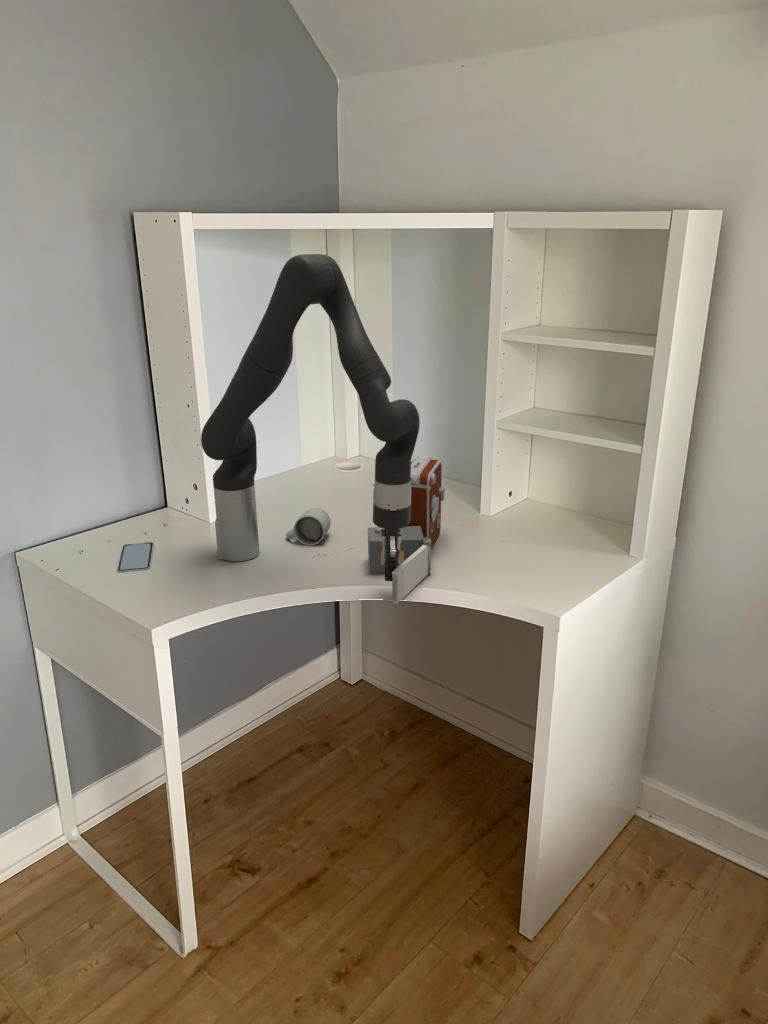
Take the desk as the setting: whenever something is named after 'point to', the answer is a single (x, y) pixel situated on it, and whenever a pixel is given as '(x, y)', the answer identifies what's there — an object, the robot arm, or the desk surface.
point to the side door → (411, 572)
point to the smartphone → (136, 557)
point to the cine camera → (426, 496)
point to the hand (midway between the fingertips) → (389, 579)
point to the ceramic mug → (310, 527)
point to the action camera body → (408, 546)
